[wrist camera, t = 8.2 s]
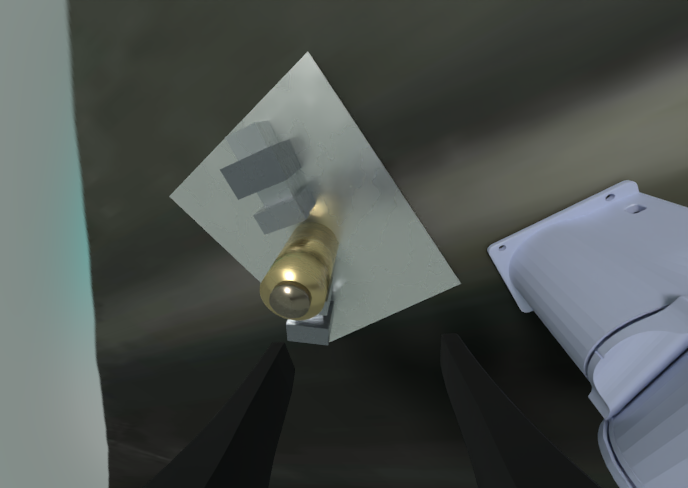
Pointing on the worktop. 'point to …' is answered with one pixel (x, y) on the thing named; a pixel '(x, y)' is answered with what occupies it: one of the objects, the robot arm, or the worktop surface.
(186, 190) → the shaft rig
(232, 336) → the worktop surface
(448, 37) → the worktop surface
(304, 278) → the cylinder
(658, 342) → the robot arm
